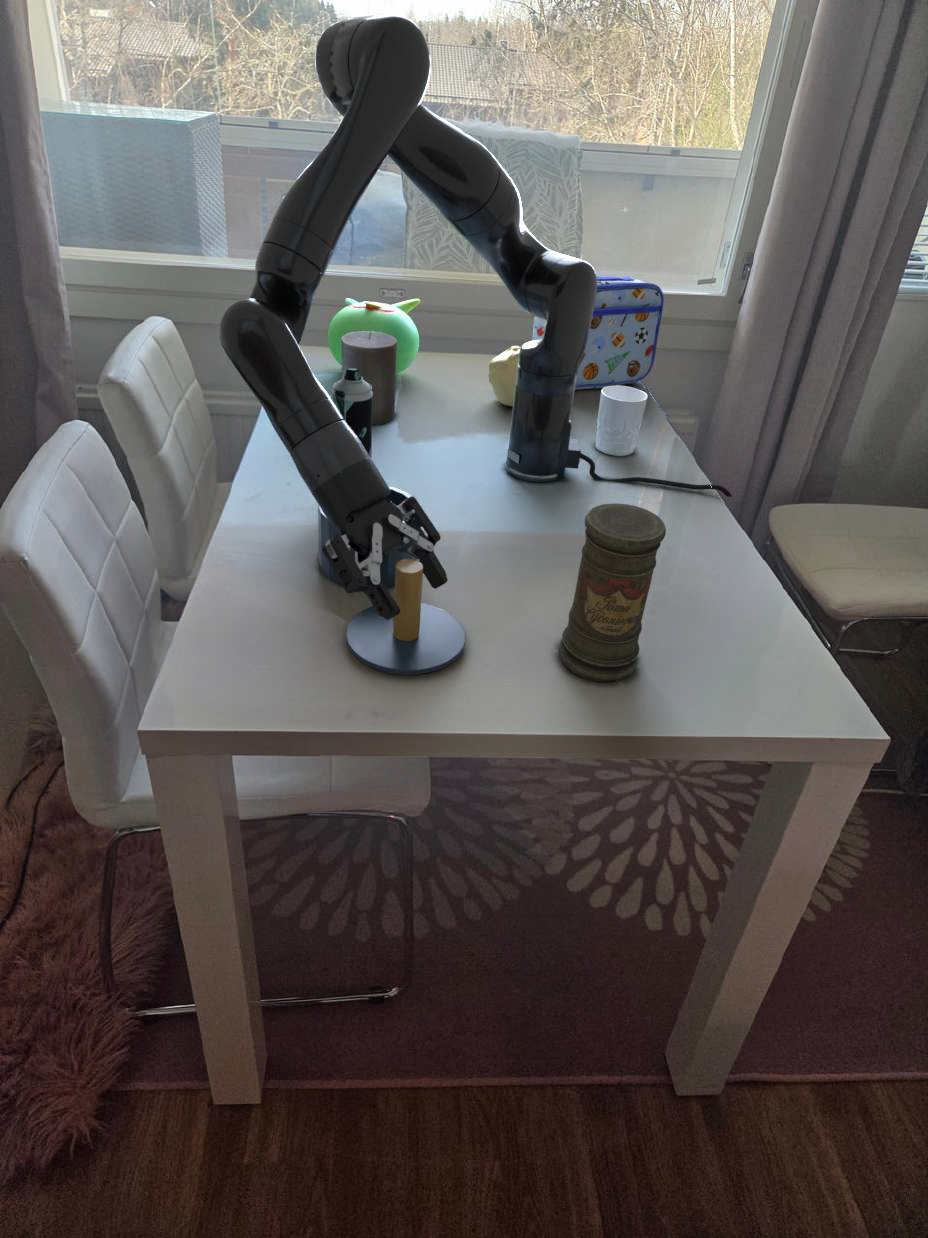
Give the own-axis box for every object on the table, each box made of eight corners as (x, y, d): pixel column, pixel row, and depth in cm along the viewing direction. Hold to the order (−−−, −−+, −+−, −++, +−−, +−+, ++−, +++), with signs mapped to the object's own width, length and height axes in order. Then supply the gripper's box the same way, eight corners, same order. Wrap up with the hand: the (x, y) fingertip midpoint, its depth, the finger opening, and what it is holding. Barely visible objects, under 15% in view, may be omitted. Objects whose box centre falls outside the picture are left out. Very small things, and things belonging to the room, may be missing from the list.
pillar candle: (405, 414, 157) (409, 331, 149) (373, 429, 150) (374, 343, 142) (363, 401, 161) (364, 319, 153) (329, 415, 154) (328, 330, 146)
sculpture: (508, 388, 173) (514, 334, 167) (560, 404, 168) (568, 348, 162) (476, 402, 165) (481, 345, 159) (529, 419, 160) (536, 361, 154)
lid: (464, 613, 105) (471, 539, 99) (464, 682, 94) (472, 604, 88) (352, 605, 104) (353, 531, 98) (339, 674, 93) (338, 595, 87)
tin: (418, 543, 118) (421, 487, 113) (413, 592, 108) (417, 533, 103) (326, 536, 118) (325, 480, 113) (313, 585, 107) (311, 525, 103)
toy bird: (318, 380, 168) (316, 303, 160) (342, 355, 182) (342, 283, 174) (408, 392, 167) (411, 315, 158) (425, 366, 181) (429, 293, 172)
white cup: (609, 460, 147) (619, 403, 141) (583, 442, 153) (592, 387, 147) (645, 454, 150) (657, 399, 145) (619, 437, 156) (629, 383, 150)
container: (552, 636, 102) (574, 499, 92) (625, 637, 103) (656, 501, 93) (566, 683, 95) (592, 540, 85) (645, 683, 96) (680, 542, 86)
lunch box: (541, 397, 170) (556, 281, 158) (517, 379, 178) (529, 267, 166) (654, 386, 181) (677, 277, 169) (626, 370, 189) (646, 264, 176)
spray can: (364, 513, 124) (366, 377, 113) (328, 507, 125) (326, 371, 113) (375, 497, 128) (377, 365, 117) (340, 491, 129) (339, 359, 118)
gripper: (311, 478, 86) (397, 617, 87) (400, 439, 96) (476, 563, 97) (275, 509, 91) (357, 639, 92) (364, 468, 101) (436, 586, 102)
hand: (418, 600), depth 95 cm, fingers open, 8 cm apart
